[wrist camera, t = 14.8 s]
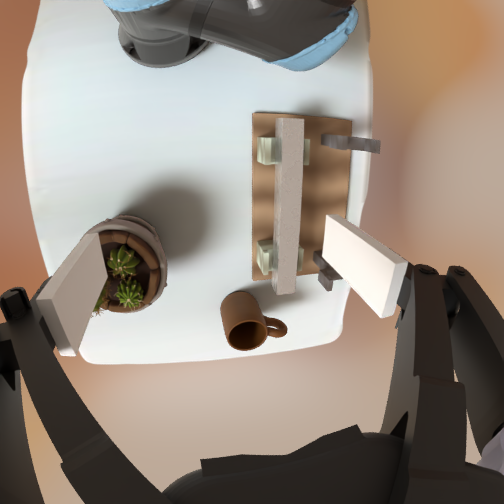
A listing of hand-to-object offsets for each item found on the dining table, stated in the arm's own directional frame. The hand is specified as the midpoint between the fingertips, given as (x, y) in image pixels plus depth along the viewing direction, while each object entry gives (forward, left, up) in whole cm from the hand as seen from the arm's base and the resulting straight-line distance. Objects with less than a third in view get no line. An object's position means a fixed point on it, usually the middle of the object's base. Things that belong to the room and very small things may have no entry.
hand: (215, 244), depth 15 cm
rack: (+6, +18, -32) cm, 37 cm away
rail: (+6, +13, -27) cm, 30 cm away
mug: (+28, +8, -32) cm, 43 cm away
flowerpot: (+12, -13, -32) cm, 36 cm away
